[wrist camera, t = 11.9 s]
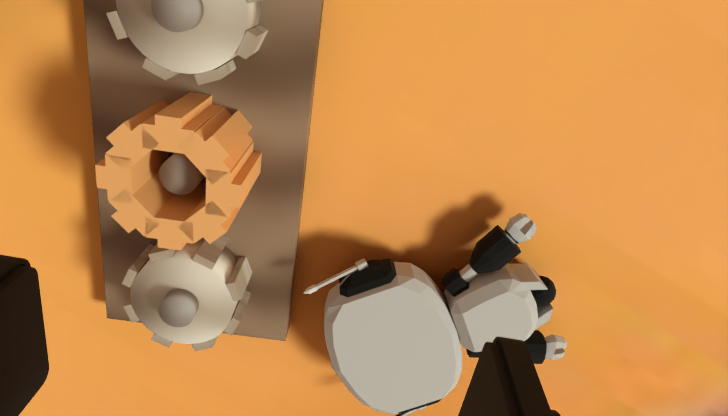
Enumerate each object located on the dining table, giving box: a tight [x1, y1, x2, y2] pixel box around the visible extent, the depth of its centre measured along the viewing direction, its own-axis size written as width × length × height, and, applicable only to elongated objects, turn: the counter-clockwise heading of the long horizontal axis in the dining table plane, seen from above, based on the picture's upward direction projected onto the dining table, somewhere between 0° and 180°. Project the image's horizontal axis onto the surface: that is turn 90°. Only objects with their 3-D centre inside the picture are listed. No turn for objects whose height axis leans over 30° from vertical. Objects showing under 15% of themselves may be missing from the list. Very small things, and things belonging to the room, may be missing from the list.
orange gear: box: [95, 92, 262, 251], centre depth 27 cm, size 7×7×5 cm
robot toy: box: [303, 213, 567, 416], centre depth 34 cm, size 12×4×15 cm
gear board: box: [84, 0, 323, 351], centre depth 29 cm, size 25×12×6 cm, turn 172°
